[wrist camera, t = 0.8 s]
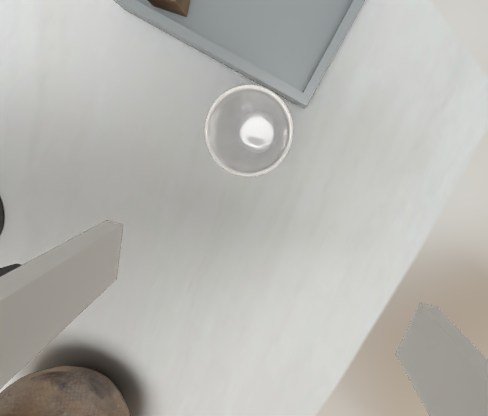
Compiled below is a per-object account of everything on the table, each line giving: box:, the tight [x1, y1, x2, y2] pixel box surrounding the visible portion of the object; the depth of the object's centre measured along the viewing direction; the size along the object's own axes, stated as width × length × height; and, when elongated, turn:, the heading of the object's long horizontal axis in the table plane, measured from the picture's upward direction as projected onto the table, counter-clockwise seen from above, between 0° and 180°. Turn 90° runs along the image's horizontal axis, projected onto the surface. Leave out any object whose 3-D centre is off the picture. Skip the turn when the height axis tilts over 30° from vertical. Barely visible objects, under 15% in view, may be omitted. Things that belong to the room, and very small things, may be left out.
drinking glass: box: [205, 85, 293, 177], centre depth 28 cm, size 7×7×15 cm
